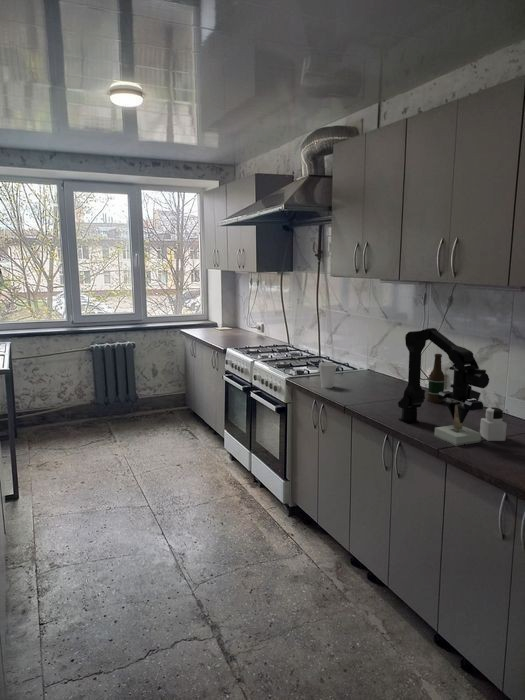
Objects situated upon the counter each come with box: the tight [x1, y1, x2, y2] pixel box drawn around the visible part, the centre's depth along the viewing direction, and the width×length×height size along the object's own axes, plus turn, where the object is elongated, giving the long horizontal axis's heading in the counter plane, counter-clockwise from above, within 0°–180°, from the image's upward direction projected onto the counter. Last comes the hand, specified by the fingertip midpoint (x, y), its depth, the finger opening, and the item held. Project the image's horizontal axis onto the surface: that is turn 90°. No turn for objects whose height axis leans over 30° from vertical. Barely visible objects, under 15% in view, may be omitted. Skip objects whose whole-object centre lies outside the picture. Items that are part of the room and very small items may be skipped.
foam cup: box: [318, 361, 337, 389], centre depth 283 cm, size 10×9×13 cm
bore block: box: [434, 424, 482, 447], centre depth 200 cm, size 12×12×4 cm
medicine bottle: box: [479, 407, 508, 442], centre depth 201 cm, size 7×7×12 cm
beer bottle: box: [427, 353, 445, 404], centre depth 253 cm, size 8×8×24 cm
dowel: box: [453, 404, 464, 429], centre depth 199 cm, size 3×3×9 cm
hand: (458, 421), depth 199 cm, fingers closed on dowel, 3 cm apart
